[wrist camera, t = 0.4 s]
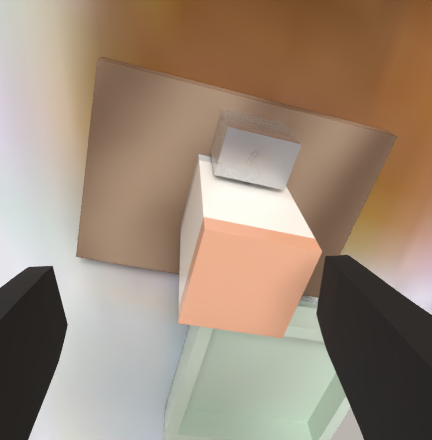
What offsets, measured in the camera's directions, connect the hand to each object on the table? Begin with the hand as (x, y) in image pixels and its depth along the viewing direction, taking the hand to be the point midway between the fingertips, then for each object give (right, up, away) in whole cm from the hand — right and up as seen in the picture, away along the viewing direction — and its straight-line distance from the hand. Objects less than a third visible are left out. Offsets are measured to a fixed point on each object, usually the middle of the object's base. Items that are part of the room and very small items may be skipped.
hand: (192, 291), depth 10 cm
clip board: (+1, +3, +10) cm, 11 cm away
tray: (+4, -8, +16) cm, 19 cm away
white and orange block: (+1, +3, +9) cm, 10 cm away
